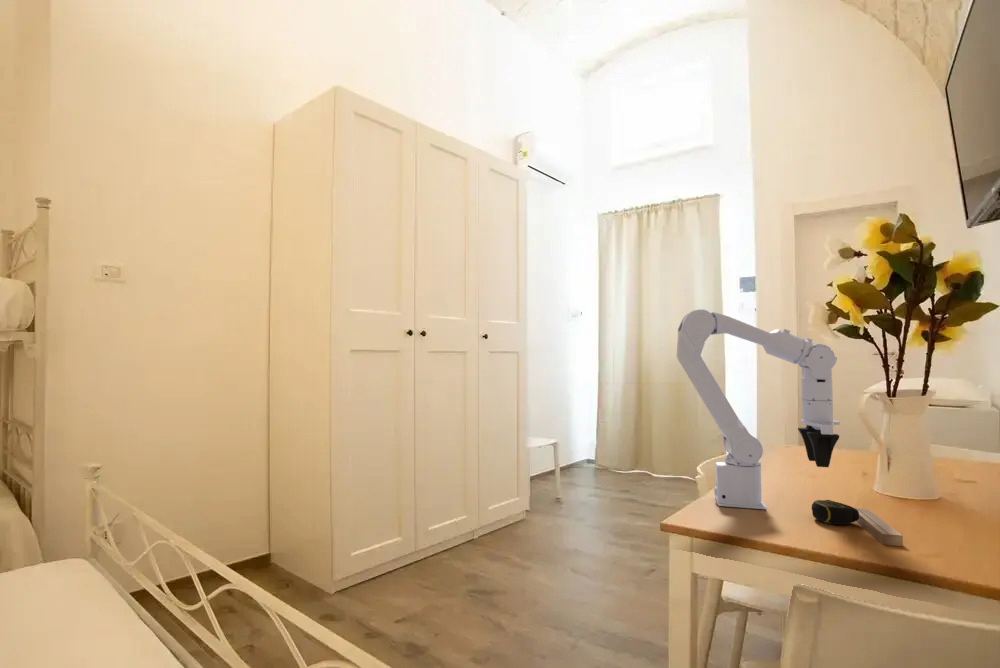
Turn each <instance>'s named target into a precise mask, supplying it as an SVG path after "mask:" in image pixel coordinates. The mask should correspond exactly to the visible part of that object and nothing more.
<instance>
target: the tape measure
mask: <svg viewBox="0 0 1000 668" xmlns="http://www.w3.org/2000/svg"><path fill="white" fill-rule="evenodd" d="M855 508H856V507H853V506H851V505H848V504H845V503H842V502H838V501H834V500H831V499H817V500H815V501H813V503H812V504H811V511H812V516H813V518H814V519H816V520H819V521H820V522H823V523H826V524H830V525H848V524H850V523H855V522H857V520H858V519H859V512H858V510H857V509H855Z"/></svg>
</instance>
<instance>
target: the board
mask: <svg viewBox="0 0 1000 668" xmlns="http://www.w3.org/2000/svg"><path fill="white" fill-rule="evenodd" d="M854 508H855V509H857V510H858V512H859V519H858V520H857V521H856V522H857V524H859V525H860V526H861V527H862V528H864V530H866V532H868V533H869V534H870V535H872V536H873V537H874V538H875V539H876V540H877V541H878V542H879V543H880V544H881V545H885V546H894V547H895V546H899V547H904V536H903V534H902V533H900V532H899V531H898V530H896V529H895V528H894V527H893V526H891V525H889V524H888V523H887V522H886V521H885V520H883V519H882V517H879V516H878V515H877V514H876V513H874V512H873V511H871V510H870V509H869V508H856V507H854Z"/></svg>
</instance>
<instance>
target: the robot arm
mask: <svg viewBox="0 0 1000 668" xmlns="http://www.w3.org/2000/svg"><path fill="white" fill-rule="evenodd" d="M720 334H721V335H723V334H724V335H725V334H727V335H729V336H730V335H731V336H733V337H736V338H739V339H741V340H745V341H747V342H748V341H749V342H751V343H754V344H757V345H761V346H762V347H763V349H764V351H765V353H766V354H767V355H770V356H772V357H775V358H777V359H778V358H779V359H780V360H783V361H785V362H790V363H792V364H794V365H798V366H799V367H800V368H801V378H800V379H801V381H800V382H801V383H800V386H801V387H800V388H801V417H802V418H801V419H800V422H801V424H802V425H804V426H805V427H797V430H798V432H799V434H800V435H801V437H802V440H803V443H804V448H805V451H806V456H807V459H808V460H809V462H815V465H816V467H818V468H829V467H830V463H831V459H832V454H833V451H834V448H835V446H836V445H837V442H838V441H839V439H840V435H839V434H837V433H834V426H835V425H836V426H840V421H839V420H834V408H833V407H834V403H833V402H834V400H833V377H832V376H833V375H832V374H833V372H832V370H833V368H834V367H835V365H836V363H837V359H838V357H837V356H836V355H835V353H834V351H833V350H832V348H831V347H829V346H828V345H826V344H822V343H819V344H818V343H816V344H815V343H813V338H810V337H807V338H803V337H801V336H798V335H795V334H792V333H791V330H789V329H786V328H783V329H782V330H781V329H777V328H776V329H774V330H771V331H770V332H768V331H767V330H764V329H761V328H758V327H756V326H753V325H751V324H749V323H746V322H743V321H741V320H738V319H736V318H733V317H731V316H729V315H726V314H722V313H718V312H714V311H713V312H710V311H709V310H706V309H702V308H698V309H693V310H692V311H691V312H688V313H687V314H685V315H684V316H683V318H682V319H681V322H680V324H679V326H678V329H677V340H676V341H677V345H676V357H677V361H678V363H679V364H680V366H681V367H682V369H683V370H684V372H685V375H686V376H687V378H688V379H689V381H690V382H691V384H692V386H693V387H694V389H695V391H696V393H697V394H698V396H699V397H700V398H701V400H702V402H703V404H704V405H705V408H706V409H707V411H708V412H709V414H710V416H711V417H712V419H713V420H714V422H715V424H716V425H717V428H718V431H719V432H720V434H721V436H722V438H723V446H724V449H725V451H726V452H727V453H728V454H727V455H726V456H725V458H724V461H716V462H715V463H714V489H713V492H714V498H715V501H716V503H717V505H718V506H719V507H730V508H741V509H754V510H767V505H766V504H764V501H763V500H762V498H763V497H762V462H761V461H760V460H761V458H762V456H763V454H764V453H763V452H764V451H763V450H764V449H763V445H762V443H761V441H760V440H759V439H758V438H756V437H755V436H753V435H752V434H751V433H750V432H749V430H748V429H747V428H746V426H745V425H744V423H742V421H741V419H740V418H739V417H738V415H737V413H736V412H735V410H734V409H733V407H732V405H731V404H730V401H728V398H727V397H726V394H725V393H724V392H723V391H722V388H721V387H720V385H719V384H718V382H717V380H716V379H715V377H714V376H713V374H712V372H711V370H710V369H709V368H708V366H707V364H706V362H705V361H704V359H703V358H702V352H703V350H704V346H705V344H706V343H705V342H706V341H707V340H708V339H709V337H710V336H713V335H720Z"/></svg>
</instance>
